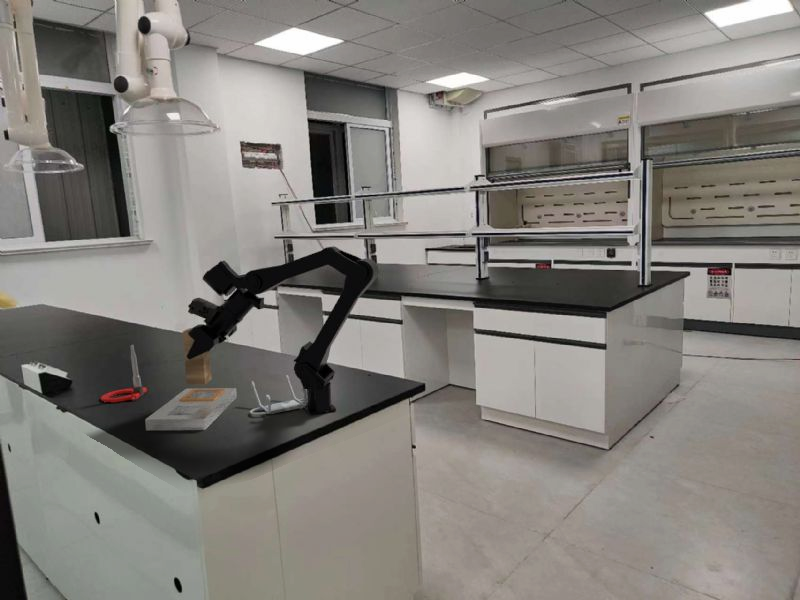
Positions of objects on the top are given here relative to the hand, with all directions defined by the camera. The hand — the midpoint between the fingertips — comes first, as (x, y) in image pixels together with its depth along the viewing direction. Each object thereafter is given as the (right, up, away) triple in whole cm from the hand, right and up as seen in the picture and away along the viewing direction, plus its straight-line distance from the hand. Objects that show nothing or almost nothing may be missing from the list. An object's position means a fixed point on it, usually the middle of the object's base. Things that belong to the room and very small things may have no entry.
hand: (191, 355), depth 133 cm
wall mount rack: (+21, -13, +1) cm, 25 cm away
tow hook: (-22, -12, +11) cm, 27 cm away
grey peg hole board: (+2, -13, -2) cm, 14 cm away
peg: (+1, -7, +1) cm, 7 cm away
